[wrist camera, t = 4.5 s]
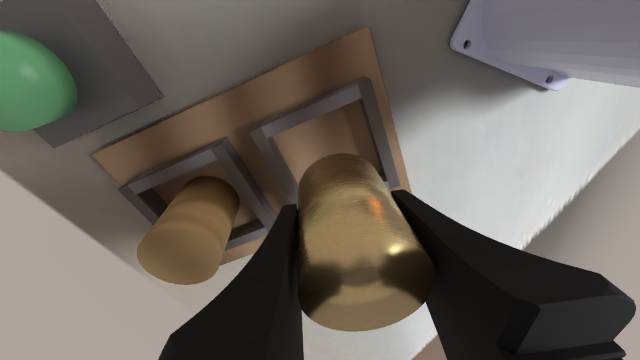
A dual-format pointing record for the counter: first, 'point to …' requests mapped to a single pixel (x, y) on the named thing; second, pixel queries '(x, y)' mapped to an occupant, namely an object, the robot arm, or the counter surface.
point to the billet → (356, 249)
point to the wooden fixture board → (252, 156)
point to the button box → (83, 62)
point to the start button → (32, 84)
